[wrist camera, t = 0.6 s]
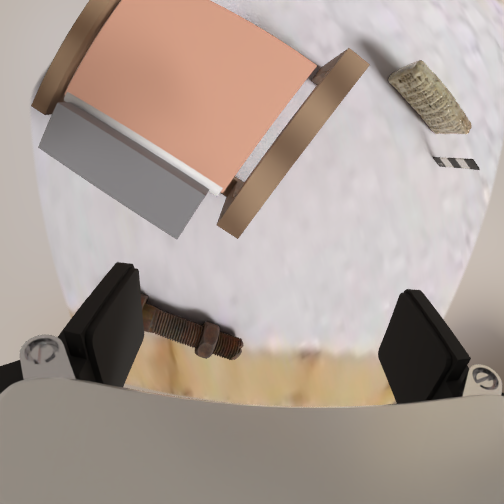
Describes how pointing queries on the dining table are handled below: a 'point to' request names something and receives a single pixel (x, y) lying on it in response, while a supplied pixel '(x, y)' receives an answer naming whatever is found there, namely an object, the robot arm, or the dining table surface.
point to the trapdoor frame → (278, 155)
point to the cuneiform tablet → (433, 106)
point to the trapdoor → (171, 105)
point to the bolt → (190, 333)
